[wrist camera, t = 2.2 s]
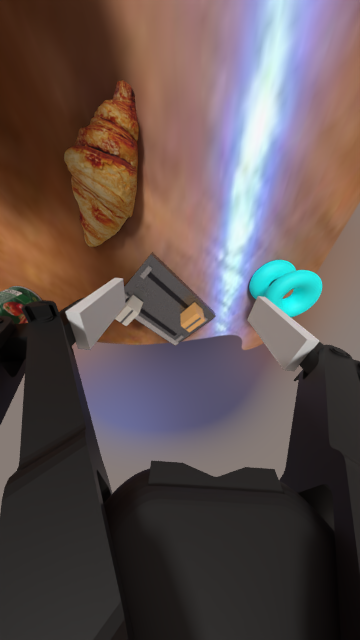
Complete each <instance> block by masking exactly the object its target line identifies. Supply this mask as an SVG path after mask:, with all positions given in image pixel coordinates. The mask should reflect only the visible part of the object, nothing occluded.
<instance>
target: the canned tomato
mask: <svg viewBox="0 0 360 640" xmlns="http://www.w3.org/2000/svg"><path fill="white" fill-rule="evenodd" d="M36 301H42V299H41V298H40V297H39V296H38V295H37V294H36V293H34V292H33V291H31V290H29V289H27V288H25V287H21V286H13V287H10V288H9V289H6V290H4V291H1V292H0V316H8V317H11V318H12V320H13V321H14V323H15V324H20V323H26V322H27V319H26V317H25V315H24V314H23V312H22V310H21V308H22V306H24V305H26V304H28V303H31V302H36Z"/></svg>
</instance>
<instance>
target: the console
mask: <svg viewBox="0 0 360 640" xmlns="http://www.w3.org/2000/svg"><path fill="white" fill-rule="evenodd" d="M124 293H125V303H126V302H127V301H128V300H129V299H130V298H131V296H132V295H134V296H136V297H137V298H138V299H140V300H141V301H142V302H143V305H142V307H141V310H140V312H139V314H138V315H137V316H136V317H135V318H134V319H136V320H137V321H139V322H140V323H142V324H143V325H145V326H146V327H148V328H149V329H151V330H152V331H154V332H155V333H157V334H158V335H160V336H161V337H163V338H164V339H166V340H167V341H168V342H170V343H172V344H173V345H174V346H175V345H177V344H178V343H179V342H181V341H182V340H183V339H185V338H186V337H188V336H189V335H190V334H192V333H193V332H195V331H196V330H197V329H199V328H200V327H201V326H203V325H204V324H206V323H207V322H208V321H210V320H211V319H213V318H214V317H215V316H216V315H215V313H214V311H213V310H212V309H211V308H209V307H208V306H207V305H206V304H205V303H204V302H203V301H202V300H201V299H200V298H199V297H198V296H197V295H196V294H195V293H194V292H193V291H192V290H191V289H190V288H189V287H188V286H187V285H186V284H185V283H184V282H183V281H182V280H181V279H179V278H178V277H177V276H176V275H175V274H174V273H173V272H172V271H171V270H170V269H169V268H168V267H167V266H166V265H165V264H164V263H163V262H162V261H161V260H160V259H159V258H158V257H157V256H156V255H155V254H154V253H153V252H152V253H151V255H150V256H149V257H148V258H147V260H146V261H145V262H144V263H143V264H142V266H141V267H140V268H139V269H138V271H137V272H136V273H135V274H134V276H133V277H132V278H131V279H130V281H129V282H128V283H127V284H126V285H125V287H124ZM194 302H195V303H196V304H197V305H198V306H200V307H201V308H202V310H203V313H204V317H205V321H204V322H203V323H202V324H200V325H199V326H198V327H196V328H195V329H194V330H192V331H191V332H188V331H187V330H186V329H184V328H183V327H182V326H181V316H180V314H181V313H182V312H183V311H184V310H186V309H187V308H188V307H189V306H190V305H192V304H193V303H194Z"/></svg>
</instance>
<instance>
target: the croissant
mask: <svg viewBox="0 0 360 640" xmlns="http://www.w3.org/2000/svg"><path fill="white" fill-rule="evenodd" d="M94 115H95V116H94V117H92V119H91V122H90V125H89V126H87V127H85V128H84V127H82V128H81V129H79V135H78V137H77V140H76V143H75V145H74V146H72V147H70V148H68V149H67V150H66V151H65V153H64V160H65V163H66V164H67V167H68V170H69V171H70V173H71V174H72V179H71V181H72V189H73V194H74V197H75V199H76V200H77V202H78V204H79V209H80V223H81V225H82V227H83V230H84V232H85V234H84V238H85V241H86V243H87V244H88V246H90V247H96V246H98V245H101V244H102V243H103V242H104V241H106V240H107V239H109V238H111V236H112V235H115V234H116V233H117V232H118V231H119V230H120V229H121V227H122V225H123V224H124V222H125V221H126V219H127V218H128V217H131V216H132V215H133V209H134V203H135V195H136V190H137V166H138V148H137V141H138V133H139V126H138V120H137V114H136V108H135V94H134V92H133V90H132V88H131V86H130V85H129V84H128V83H126V82H125V81H123V80H121V81H118V82H117V84H116V90H115V93H114V97H113V99H111V100H104V102H103V104H101V105H100V106H98V109H97V111H96V112H95V113H94Z"/></svg>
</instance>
